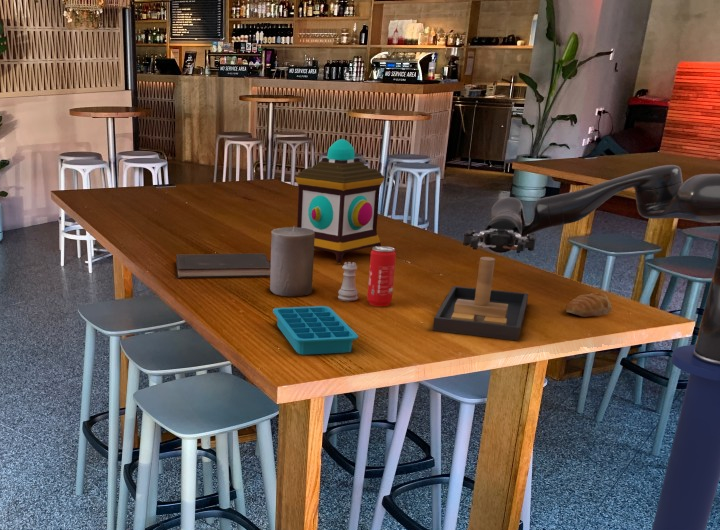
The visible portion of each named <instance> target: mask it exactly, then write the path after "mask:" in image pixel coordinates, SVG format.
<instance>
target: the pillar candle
mask: <svg viewBox="0 0 720 530" xmlns="http://www.w3.org/2000/svg"><path fill="white" fill-rule="evenodd" d="M270 233H271V239H270V240H271V241H270V244H271V246H270V264H271V272H270V277H269V279H270V280H269V281H270V284H269V290H270V292H272V293H273V294H274V295H276V296H281V297H303V296H309V295H311V294H312V293H313V278H314V275H313V274H314V261H315V260H314V258H315V249H314V239H315V232H314V231H313V230H311V229H307V228H298V227H297V226H295V225H293V226H290V227H289V226H285V227H277V228H274V229H272V230H271V232H270Z"/></svg>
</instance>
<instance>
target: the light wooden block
mask: <svg viewBox="0 0 720 530" xmlns="http://www.w3.org/2000/svg"><path fill="white" fill-rule="evenodd" d="M474 317H475V315H471V314H462V313H453V315H452V317H451V319H459V320H467V321H474Z"/></svg>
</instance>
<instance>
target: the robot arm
mask: <svg viewBox="0 0 720 530" xmlns="http://www.w3.org/2000/svg"><path fill="white" fill-rule="evenodd" d="M633 188H634V194H635V195H634V196H635V203H636V209H637V212H638V214H639V216H640V217H643V218H645V219H651V220H654V219H655V220H663V219H664V220H668V219H669V220H670V219H679V220H687V221H692V222H698V223H704V224H705V223H706V224H707V223H708V224H719V223H720V173H700V174H695V175H693V176H691V177H688V178H687V179H686V180H684V181H683V173H682V168H681V167H680V166H679V165H676V164H663V165H658V166H654V167H653V166H652V167H650V168H645V169H642V170H639V171H634V172H633V173H628V174H625V175H622V176H618V177H615V178H612V179H609V180H605V181H602V182H599V183H596V184H593V185H591V186H588V187H585V188H580V189H578V190H574V191H573V190H572V191H570V192H565V193H561V194H555V195H551V196H546V197H542V198H539V199H537V200H536V201H535V202H534V206H533V207H534V208H533V218H532V220H531V221H530V222H528V223H527V222H526V217H525V210H524V204H523V202H522V201H521V199H519V198H518V197H513V196H508V197H503V198H501V199H499V200H497V201H496V202H495V203H493V205H492V206H491V209H490V220H489V222H488V223H487V224H486V227H485V229H484V230H481V231H479V232H478V233H477V232H476V230H475V229H473V228H470V229H467V230H466V231H465V232H464V233H463V242H462V245H463V246H464V247H465V246H466V247H467V246H469V247H470V248H472V250H474V251H475V250H477V249H478V247H479V248H483V249H485V248H488V249H489V250H491V251H493V252H495V253H499V254H502V253H507V252H510V251H516V252H515V253H516V254H521V252H524V251H526V249H527V251H529V252H533V251H535V246H536V240H537V236H536V234H535V233H536V232H539V231H542V230H544V229H549V228H553V227H557V226H559V227H560V226H563V225H568V224H572V223H576V222H579V221H580V220H582V219H585V218H586V217H587V216H589V215H591V214H592V213H593V212H594V211H595V210H596V209H598V208H599V207H600V206H601V205H602V204H604V203H605V202H606V201H608V200H610V198H612V197H613V196H615V195H618V194H619V193H620V192H621V193H622V192H623V191H625V190H628V189H633ZM716 252H717V253H716V254H717V255H716V259H715V260H716V261H715V264H714V268H713V272H712V277H711V280H710V285H709V289H708V293H707V297H706V301H705V305H704V308H703V309H704V310H703V313H702V317H701V320H700V325H699V330H698V332H697V333H698V334H697V339H696V342H695V344H694V345H695V349H694V352H693V356H694V357H695V358H696V359H698V360H700V361H702V362H705V363H708V364H712V365H716V366H720V233H719V235H718V239H717V249H716Z"/></svg>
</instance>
